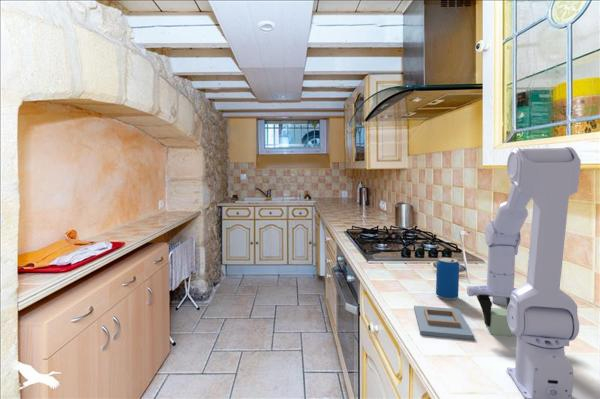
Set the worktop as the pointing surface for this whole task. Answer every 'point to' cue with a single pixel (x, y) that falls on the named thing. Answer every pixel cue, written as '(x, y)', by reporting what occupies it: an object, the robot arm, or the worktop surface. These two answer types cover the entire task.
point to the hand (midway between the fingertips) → (498, 325)
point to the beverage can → (447, 278)
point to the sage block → (499, 322)
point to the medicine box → (500, 300)
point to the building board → (442, 322)
